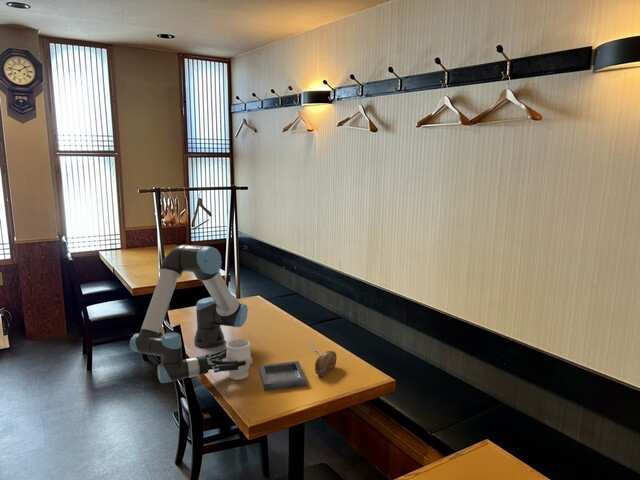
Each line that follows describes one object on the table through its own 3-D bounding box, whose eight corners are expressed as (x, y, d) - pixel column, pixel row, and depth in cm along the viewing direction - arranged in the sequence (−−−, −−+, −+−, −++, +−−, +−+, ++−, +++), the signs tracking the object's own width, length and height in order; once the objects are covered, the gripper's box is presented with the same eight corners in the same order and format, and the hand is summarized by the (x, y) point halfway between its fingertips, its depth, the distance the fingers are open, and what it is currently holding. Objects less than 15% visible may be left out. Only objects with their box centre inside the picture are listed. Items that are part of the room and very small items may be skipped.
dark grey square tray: (259, 371, 205) (258, 365, 205) (298, 367, 210) (298, 361, 209) (264, 391, 188) (264, 384, 187) (307, 386, 192) (307, 379, 192)
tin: (319, 379, 198) (319, 361, 197) (313, 377, 200) (313, 359, 199) (337, 366, 211) (337, 348, 209) (331, 364, 213) (331, 347, 211)
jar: (245, 382, 195) (245, 349, 192) (223, 380, 197) (221, 347, 194) (254, 371, 205) (253, 339, 202) (232, 369, 207) (231, 337, 205)
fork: (327, 366, 212) (327, 362, 211) (307, 346, 234) (307, 343, 233) (333, 364, 213) (333, 361, 213) (312, 345, 235) (313, 342, 234)
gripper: (190, 363, 201) (239, 353, 212) (205, 386, 182) (257, 374, 192) (190, 347, 200) (238, 338, 211) (204, 368, 180) (257, 357, 191)
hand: (247, 355), depth 202 cm, fingers closed on jar, 10 cm apart
